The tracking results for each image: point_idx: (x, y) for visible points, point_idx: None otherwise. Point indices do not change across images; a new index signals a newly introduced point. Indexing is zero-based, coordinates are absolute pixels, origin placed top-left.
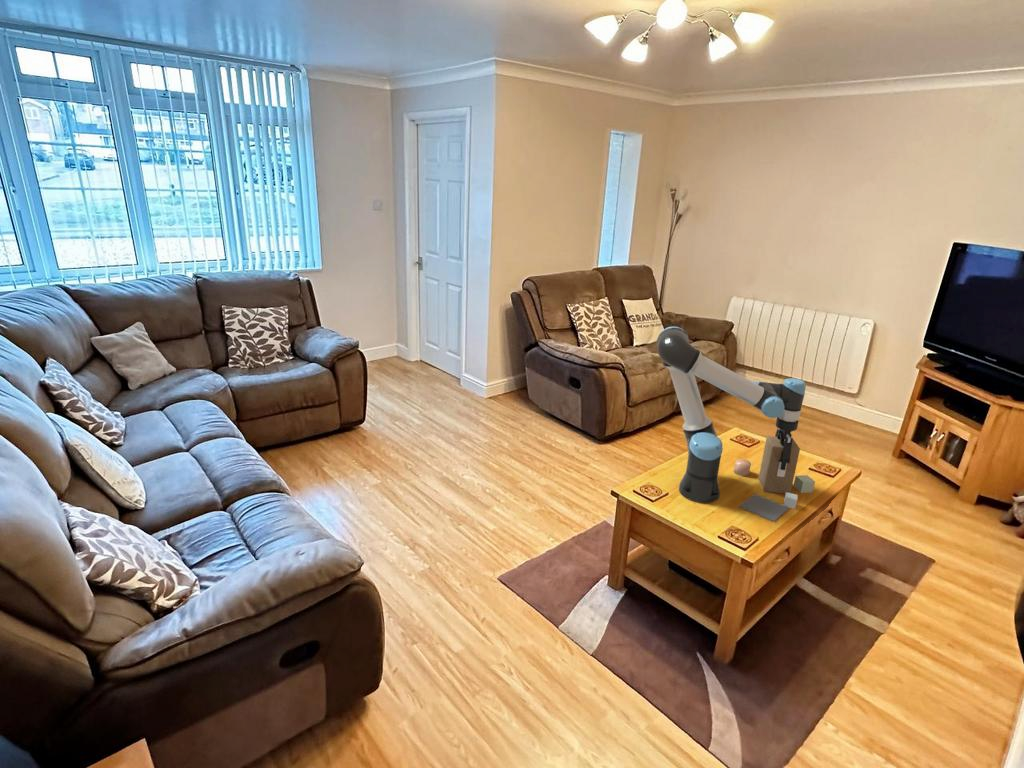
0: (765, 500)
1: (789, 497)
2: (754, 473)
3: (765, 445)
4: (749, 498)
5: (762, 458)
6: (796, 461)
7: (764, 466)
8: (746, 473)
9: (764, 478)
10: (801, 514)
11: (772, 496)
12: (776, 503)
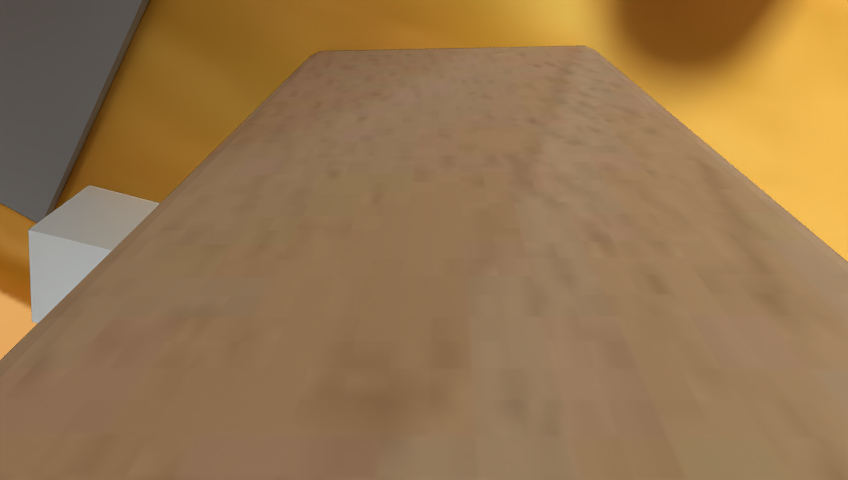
0: (66, 23)
1: (41, 266)
2: (746, 29)
3: (813, 306)
4: None
5: (678, 131)
6: None
7: (448, 116)
8: None
9: (343, 79)
10: (17, 293)
11: (236, 123)
12: (61, 127)
